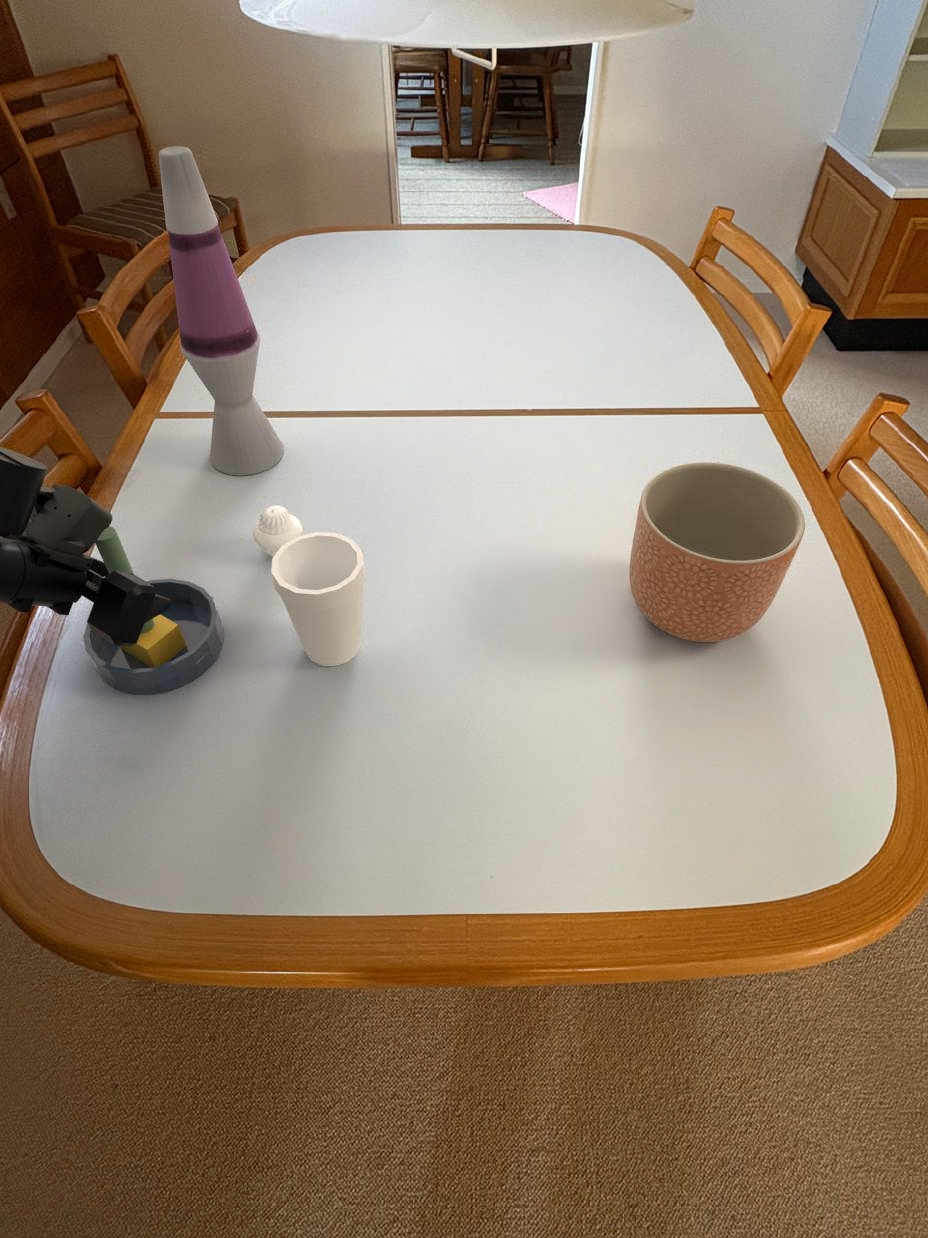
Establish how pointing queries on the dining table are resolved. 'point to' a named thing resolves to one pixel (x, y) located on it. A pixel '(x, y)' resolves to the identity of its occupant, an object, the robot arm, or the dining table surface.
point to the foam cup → (322, 594)
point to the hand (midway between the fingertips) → (139, 587)
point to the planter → (711, 549)
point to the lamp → (215, 320)
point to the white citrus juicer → (276, 529)
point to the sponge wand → (158, 633)
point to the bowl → (201, 651)
